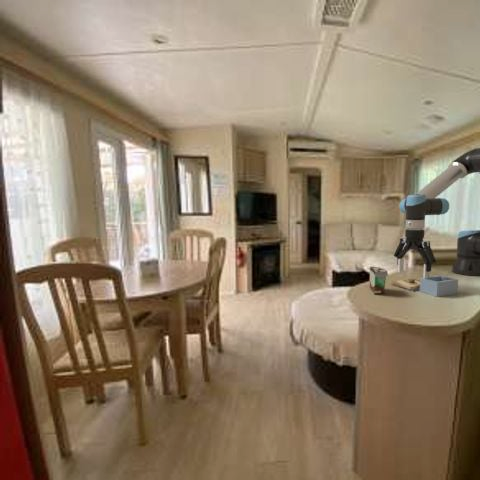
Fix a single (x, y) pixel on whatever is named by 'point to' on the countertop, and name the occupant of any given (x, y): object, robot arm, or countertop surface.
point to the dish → (438, 285)
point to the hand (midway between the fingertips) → (412, 275)
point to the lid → (408, 283)
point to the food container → (377, 280)
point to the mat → (408, 289)
